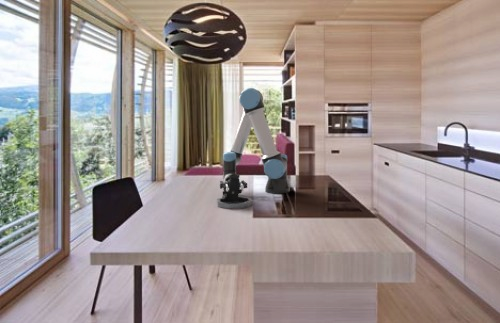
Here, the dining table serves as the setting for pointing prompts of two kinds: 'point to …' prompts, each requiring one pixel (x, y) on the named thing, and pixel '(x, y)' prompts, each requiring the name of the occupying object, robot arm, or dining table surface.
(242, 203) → the dark grey octagonal bowl
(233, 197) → the scope
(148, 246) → the dining table surface
